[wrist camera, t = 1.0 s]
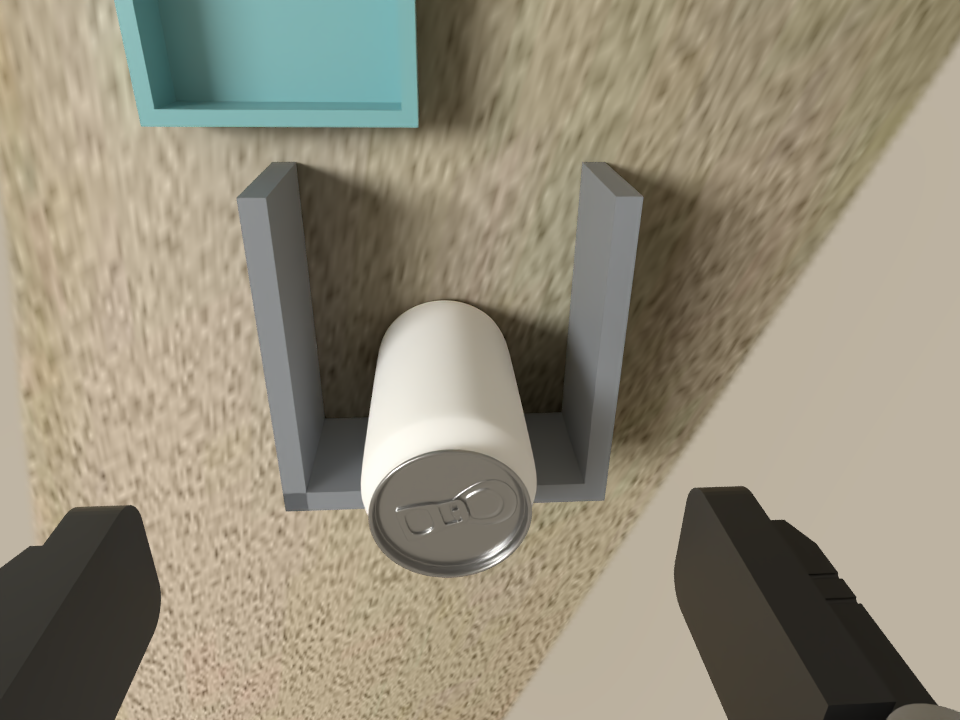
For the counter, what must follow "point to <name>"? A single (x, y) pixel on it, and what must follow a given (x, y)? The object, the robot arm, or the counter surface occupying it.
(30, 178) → the counter surface
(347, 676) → the counter surface
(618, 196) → the bay
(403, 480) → the can
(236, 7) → the tray
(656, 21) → the counter surface
